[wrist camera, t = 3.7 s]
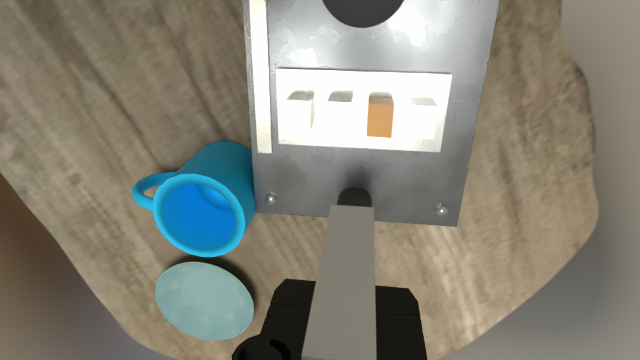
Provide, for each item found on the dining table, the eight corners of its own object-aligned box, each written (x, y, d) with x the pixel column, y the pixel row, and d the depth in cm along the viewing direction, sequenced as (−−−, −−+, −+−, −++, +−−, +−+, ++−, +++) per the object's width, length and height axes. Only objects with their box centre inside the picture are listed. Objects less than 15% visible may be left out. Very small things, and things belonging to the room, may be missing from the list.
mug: (268, 145, 38) (244, 179, 31) (267, 216, 42) (245, 262, 34) (152, 132, 39) (102, 163, 32) (161, 203, 42) (117, 245, 35)
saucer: (270, 271, 45) (265, 284, 43) (244, 339, 50) (239, 353, 48) (173, 236, 44) (164, 247, 42) (157, 308, 49) (148, 321, 47)
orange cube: (368, 96, 29) (368, 103, 27) (392, 97, 29) (394, 104, 27) (366, 127, 30) (366, 136, 28) (389, 128, 30) (391, 137, 28)
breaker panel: (258, -30, 32) (225, -41, 24) (485, -29, 30) (522, -39, 23) (268, 188, 40) (246, 229, 33) (446, 200, 38) (464, 246, 31)
